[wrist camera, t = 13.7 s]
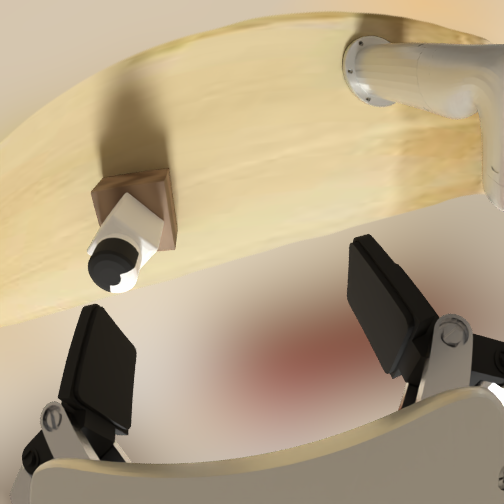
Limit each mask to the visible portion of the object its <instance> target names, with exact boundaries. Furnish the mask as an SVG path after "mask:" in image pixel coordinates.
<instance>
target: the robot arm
mask: <svg viewBox="0 0 504 504" xmlns="http://www.w3.org/2000/svg"><path fill="white" fill-rule="evenodd" d="M348 70H349V72H348ZM343 73H344V77H345V80H346V82H347V85H348V87H349V88H350V90H351V91H352V93H353V94H354V95H355V96H356V97H357V98H358V99H360V100H361V101H362V102H364V103H366V104H368V105H372V106H376V107H387V106H391V105H392V104H394V103H396V102H397V103H400V104H404V105H408V106H411V107H415V108H418V109H422V110H425V111H428V112H431V113H434V114H437V115H441V116H444V117H446V118H450V119H464V118H467V117H470V116H472V115H473V114H475V113H477V112H479V118H480V127H481V137H482V183H483V188H484V191H485V194H486V196H487V197H488V199H489V200H490V201H491V203H492V204H493V205H495V206H496V207H497V208H498V209H499V210H501V211H503V212H504V44H488V45H464V44H444V43H390V42H389V41H387V40H385V39H383V38H381V37H377V36H365V37H361V38H358V39H356V40H355V41H353V42H352V43H351V44H350V45H349V46H348V48H347V49H346V51H345V54H344V58H343ZM366 98H367V99H366ZM347 299H348V302H349V304H350V306H351V308H352V310H353V312H354V314H355V315H356V317H357V319H358V321H359V323H360V325H361V327H362V329H363V330H364V332H365V334H366V336H367V338H368V340H369V342H370V344H371V346H372V348H373V350H374V351H375V353H376V356H377V357H378V360H379V362H380V363H381V366H382V368H383V370H384V371H385V373H387V374H388V373H390V375H391V377H392V379H394V378H396V377H398V376H400V375H402V376H403V378H404V380H405V382H406V385H405V390H404V393H403V396H402V400H401V403H400V406H399V409H398V411H396V412H394V413H392V414H390V415H388V416H385V417H383V418H380V419H378V420H375V421H373V422H371V423H368V424H365V425H363V426H360V427H357V428H355V429H352V430H349V431H347V432H344V433H341V434H338V435H335V436H332V437H329V438H325V439H322V440H319V441H316V442H312V443H308V444H305V445H301V446H298V447H293V448H289V449H285V450H280V451H276V452H271V453H266V454H261V455H256V456H249V457H243V458H236V459H229V460H221V461H211V462H198V463H179V464H140V463H132V462H131V460H130V459H129V458H128V456H127V455H126V454H125V452H124V451H123V450H122V448H121V447H120V445H119V444H118V443H117V441H116V440H115V434H117V435H128V429H129V428H130V427H131V415H132V397H133V385H134V374H135V364H136V349H135V347H134V345H133V344H132V343H131V342H130V341H129V340H128V338H127V337H126V336H125V335H124V334H123V332H122V331H121V330H120V329H119V327H118V326H117V325H116V324H115V322H114V321H113V320H112V318H111V317H110V316H109V315H108V313H107V312H106V311H105V309H104V308H103V307H100V306H99V305H98V304H93V305H88V306H84V307H83V309H82V311H81V314H80V317H79V320H78V323H77V326H76V329H75V332H74V336H73V339H72V342H71V346H70V349H69V353H68V357H67V360H66V364H65V369H64V373H63V377H62V381H61V385H60V390H59V395H58V398H59V399H60V400H61V401H62V403H61V404H60V403H58V402H55V401H54V402H50V403H49V404H47V405H46V406H45V407H44V409H43V411H42V413H41V417H40V424H41V428H42V430H41V431H40V432H39V433H38V434H37V435H36V436H35V437H34V438H33V439H32V440H31V442H30V443H29V444H28V445H27V446H26V447H25V449H24V451H23V454H22V461H23V466H24V467H23V466H21V469H20V471H19V473H18V475H17V478H16V480H15V482H14V484H13V487H12V489H11V493H10V499H11V502H12V504H504V342H501V341H498V340H494V339H491V338H487V337H484V336H480V335H476V334H473V333H472V329H471V327H470V325H469V323H468V322H467V321H466V320H465V319H464V318H463V317H461V316H459V315H456V314H447V315H443V316H442V317H440V318H439V316H438V315H437V314H436V312H435V311H434V309H433V308H432V307H431V305H430V304H429V303H428V301H427V300H426V298H425V297H424V296H423V294H422V293H421V292H420V291H419V289H418V288H417V287H416V285H415V284H414V283H413V282H412V280H411V279H410V278H409V277H408V275H407V274H406V273H405V272H404V270H403V269H402V268H401V267H400V266H399V265H398V264H396V263H394V262H393V260H392V259H391V258H390V257H389V256H388V254H387V253H386V252H385V251H384V250H383V248H382V247H381V246H380V245H379V244H378V243H377V242H376V241H375V239H374V238H373V237H372V236H371V235H370V234H367V235H363V236H360V237H356V238H354V240H353V243H350V247H349V270H348V288H347Z"/></svg>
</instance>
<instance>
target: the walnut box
mask: <svg viewBox="0 0 504 504" xmlns="http://www.w3.org/2000/svg"><path fill="white" fill-rule="evenodd" d="M125 193H129V194H130V195H132V196H133V197H134V198H135V199H137V200H138V201H139V202H140V203H142V204H143V205H144V206H145V207H147V208H148V209H149V210H150V211H152V212H153V213H154V214H155V215H157V216H158V217H159V218H161V219H162V220H163V221H164V226H163V230H162V234H161V239H160V243H159V247H158V250H157V251H166V250H175V247H176V239H177V231H178V230H177V223H176V217H175V210H174V203H173V196H172V188H171V180H170V172H169V168H166V169H158V170H150V171H143V172H136V173H130V174H123V175H117V176H111V177H106V178H103V179H102V180H101V181H100V182H99V183H98V184H97V185H96V187H95V188H94V189H93V190H92V191H91V196H92V200H93V203H94V207H95V211H96V215H97V218H98V222H99V225H100V226H101V225H102V223H103V222H104V221H105V219H106V218H107V216H108V215H109V214H110V212H111V211H112V210H113V208H114V207H115V206H116V204H117V203H118V202H119V200H120V199H121V198H122V197H123V195H124V194H125Z"/></svg>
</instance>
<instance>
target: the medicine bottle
mask: <svg viewBox="0 0 504 504" xmlns="http://www.w3.org/2000/svg"><path fill="white" fill-rule="evenodd" d="M163 226H164V221H163V220H162V219H161V218H159V217H158V216H157V215H155V214H154V213H153V212H152V211H150V210H149V209H148V208H147V207H145V206H144V205H143V204H142V203H140V202H139V201H138V200H137V199H135V198H134V197H133V196H132V195H130V194H129V193H125V194H124V195H123V197H122V198H121V199H120V200H119V202H118V203H117V204H116V206H115V207H114V208H113V210H112V211H111V212H110V214H109V215H108V216H107V218H106V219H105V221H104V222H103V223H102V225H101V226H100V228H99V230H98V232H97V233H96V235H95V237H94V238H93V240H92V242H91V244H90V246H89V247H88V249H87V253H88V254H89V255H91V258H90V260H89V262H88V271H89V274H90V276H91V278H92V280H93V281H94V282H95V283H96V285H98V286H99V287H100V288H102V289H104V290H106V291H108V292H112V293H122V292H126V291H128V290H130V289H131V288H133V287H134V285H135V284H136V282H137V278H138V274H139V270H140V268H141V267H142V266H143V265H144V264H145V263H146V262H147V261H148V260H149V259H150V258H151V257H152V255H153V254H154V253H155V252H156V251H157V250H158V247H159V243H160V239H161V234H162V230H163Z"/></svg>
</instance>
